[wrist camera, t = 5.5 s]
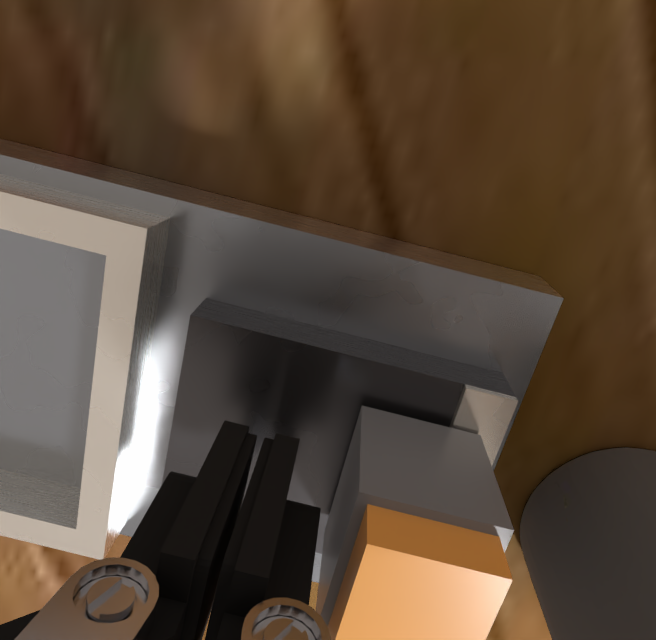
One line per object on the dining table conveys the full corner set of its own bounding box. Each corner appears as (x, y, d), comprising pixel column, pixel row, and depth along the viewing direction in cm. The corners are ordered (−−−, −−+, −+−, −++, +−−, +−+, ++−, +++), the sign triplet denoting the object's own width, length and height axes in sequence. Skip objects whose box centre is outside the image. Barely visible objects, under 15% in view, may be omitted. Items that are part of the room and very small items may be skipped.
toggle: (480, 434, 13) (529, 573, 9) (433, 556, 14) (458, 725, 10) (361, 405, 13) (358, 531, 9) (324, 530, 14) (307, 689, 10)
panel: (539, 276, 15) (586, 319, 12) (429, 562, 19) (442, 656, 15) (-155, 98, 15) (-302, 92, 12) (-139, 421, 18) (-250, 487, 15)
